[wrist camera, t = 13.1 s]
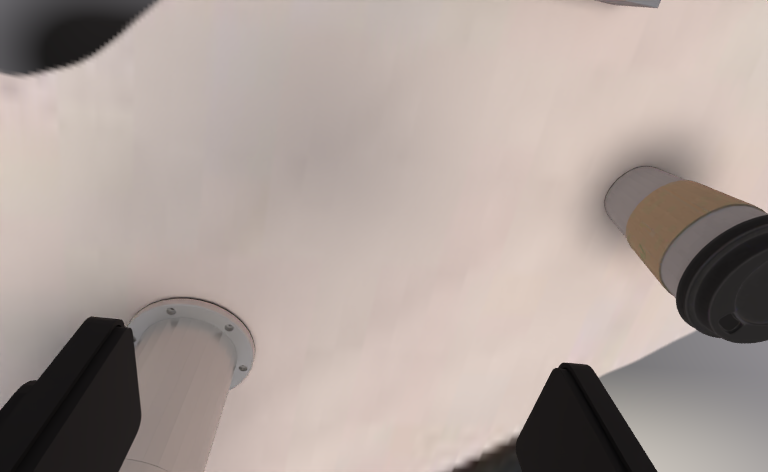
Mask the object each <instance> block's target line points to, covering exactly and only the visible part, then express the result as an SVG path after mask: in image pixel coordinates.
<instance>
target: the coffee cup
mask: <svg viewBox="0 0 768 472" xmlns="http://www.w3.org/2000/svg"><path fill="white" fill-rule="evenodd" d="M605 209H606V212H607V214H608V216H609V217H610V219H611V220H612V221H613V222H614V224H615V225H616V226H617V227H618V229H619V230H620V231H621V232H622V233H623V235H624V236H625V237H626V238H627V241H628V243H629V244H630V246H631V248H632V249H633V250H634V251H635V252H636V254H637V255H638V256H639V257H640V259H641V260H642V261H643V262H644V264H645V265H646V266H647V267H648V268H649V270H650V271H651V272H652V273H653V275H654V276H655V277H656V278H657V280H658V281H659V282H660V283H661V284H662V286H663V287H664V288H665V289H666V290H667V291H668V292H669V293H670V294H671V295H673V296H674V297H675V298H676V305H677V309H678V312H679V314H680V316H681V317H682V319H683V320H684V321H685V322H686V323H688V324H689V325H690V326H692V327H694V328H695V329H696V330H698V331H699V332H701V333H703V334H706V335H708V336H712V337H716V338H722V339H725V340H727V341H731V342H734V343H756V342H762V341H766V340H768V214H767V213H766V212H764V211H763V210H762V209H760V208H758V207H756V206H754V205H752V204H749V203H747V202H744V201H742V200H739V199H737V198H734V197H732V196H729V195H727V194H724V193H722V192H719V191H717V190H714V189H712V188H709V187H707V186H705V185H702V184H700V183H697V182H693V181H689V180H684V179H682V178H679V177H677V176H674V175H672V174H670V173H667V172H665V171H662V170H660V169H657V168H654V167H649V166H644V167H639V168H635V169H633V170H631V171H629V172H627V173H626V174H624V175H623V176H621V177H620V178H619V179H618V180H617V181H616V182H615V183H614V184H613V185H612V187H611V188H610V189H609V191H608V193H607V195H606V199H605Z"/></svg>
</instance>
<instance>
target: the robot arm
mask: <svg viewBox="0 0 768 472" xmlns="http://www.w3.org/2000/svg"><path fill="white" fill-rule="evenodd" d="M254 353H255V348H254V343H253V339H252V337H251V335H250V333H249V331H248V330H247V328H246V327H245V326H244V324H243V323H242V322H241V321H239V320H238V319H237V318H236V317H235V316H234V315H232V314H231V313H229V312H228V311H226V310H225V309H222V308H220V307H218V306H216V305H214V304H211V303H207V302H204V301H200V300H193V299H169V300H163V301H159V302H156V303H153V304H151V305H149V306H147V307H145V308H144V309H142V310H141V311H140V312H138V313H137V314H136V315H135V316H134V317H133V319H132V320H131V322H130V323H129V325H128V326H127V327H125V326H124V322H123V321H122V320H120V319H110V318H100V317H89V318H87V319H86V320H85V321H84V323H83V324H82V325H81V326H80V328H79V329H78V330H77V331H76V333H75V334H74V335H73V336H72V338H71V339H70V340H69V341H68V343H67V344H66V345H65V346H64V348H63V349H62V350H61V351H60V353H59V354H58V355H57V356H56V358H55V359H54V360H53V362H52V363H51V364H50V365H49V367H48V368H47V369H46V370H45V372H44V373H43V374H42V375H41V377H40V378H39V379H38V380H35V381H29V382H27V383H25V384H23V385H22V386H21V387H20V388H19V389H18V390H17V391H16V392H15V393H14V395H13V396H12V397H11V398H10V399H9V401H8V402H7V403H6V404H5V405H4V407H3V408H2V409H1V410H0V472H204V470H205V467H206V464H207V460H208V457H209V454H210V450H211V447H212V444H213V440H214V437H215V434H216V430H217V427H218V424H219V421H220V417H221V414H222V411H223V407H224V404H225V401H226V397H227V394H228V391H229V390H230V389H233V388H235V387H236V386H237V385H239V384H240V383H241V382H242V381H243V380H244V379H245V378H246V377H247V376H248V374H249V372H250V370H251V368H252V364H253V360H254ZM516 454H517V458H518V460H519V463H520V466H521V469H522V472H657V470H656V469H655V467H654V465H653V464H652V462H651V461H650V459H649V458H648V456H647V455H646V453H645V451H644V450H643V448H642V446H641V445H640V443H639V442H638V440H637V439H636V437H635V435H634V434H633V432H632V431H631V429H630V427H629V426H628V424H627V423H626V421H625V420H624V418H623V416H622V415H621V413H620V412H619V410H618V408H617V407H616V405H615V404H614V402H613V400H612V399H611V397H610V396H609V394H608V393H607V391H606V389H605V388H604V386H603V385H602V383H601V381H600V380H599V378H598V377H597V375H596V374H595V372H594V370H593V369H592V368H591V367H590V366H588V365H584V364H574V363H562V364H560V366H559V367H558V368H555V369H553V371H552V372H551V374H550V376H549V378H548V380H547V382H546V384H545V386H544V388H543V390H542V392H541V394H540V396H539V398H538V400H537V402H536V404H535V406H534V408H533V410H532V412H531V413H530V415H529V417H528V419H527V421H526V423H525V425H524V427H523V429H522V431H521V433H520V435H519V437H518V439H517V442H516Z"/></svg>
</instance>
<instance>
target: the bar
mask: <svg viewBox="0 0 768 472" xmlns="http://www.w3.org/2000/svg"><path fill="white" fill-rule="evenodd" d="M596 1H601V2H605V3H609V4H614V5H621V6H635V7H649V8H658V6H659V4H660V1H661V0H596Z"/></svg>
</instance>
